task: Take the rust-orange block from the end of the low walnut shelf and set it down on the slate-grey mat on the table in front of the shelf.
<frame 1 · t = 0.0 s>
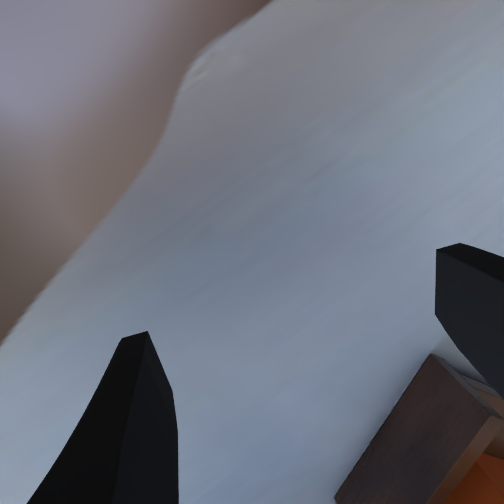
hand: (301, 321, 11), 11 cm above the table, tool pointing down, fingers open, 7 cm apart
rust block: (469, 484, 26), point 3 cm above the table, touching shelf
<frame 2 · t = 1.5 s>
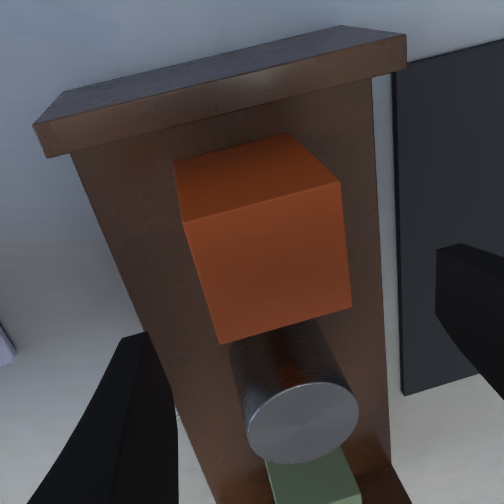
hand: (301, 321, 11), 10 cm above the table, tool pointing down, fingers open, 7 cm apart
rust block: (243, 200, 18), point 3 cm above the table, touching shelf
shelf: (264, 317, 24), on the table
mat: (484, 239, 24), on the table
steel tin: (276, 350, 22), point 3 cm above the table, touching shelf
sage block: (299, 451, 26), point 3 cm above the table, touching shelf
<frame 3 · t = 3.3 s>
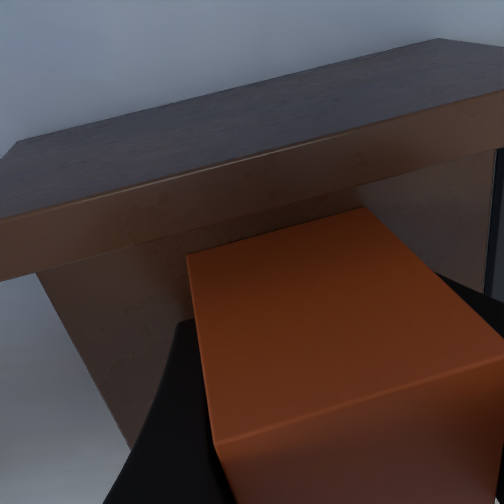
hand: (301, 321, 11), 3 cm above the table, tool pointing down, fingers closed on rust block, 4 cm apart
rust block: (290, 302, 12), point 3 cm above the table, touching gripper, shelf
shelf: (303, 421, 18), on the table
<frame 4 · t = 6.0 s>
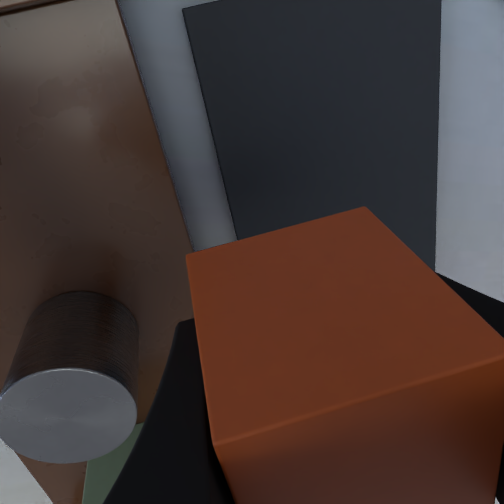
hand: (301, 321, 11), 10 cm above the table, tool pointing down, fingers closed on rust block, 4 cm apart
rust block: (290, 302, 12), point 10 cm above the table, touching gripper
shelf: (90, 300, 21), on the table
mat: (337, 215, 22), on the table
steel tin: (83, 335, 19), point 3 cm above the table, touching shelf
sage block: (142, 450, 23), point 3 cm above the table, touching shelf
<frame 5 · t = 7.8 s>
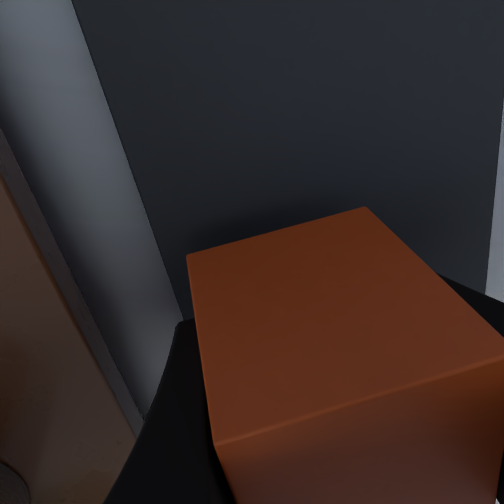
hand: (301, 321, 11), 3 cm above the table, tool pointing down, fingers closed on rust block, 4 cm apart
rust block: (290, 302, 12), point 2 cm above the table, touching gripper
mat: (340, 294, 15), on the table
when the fingers open (1 cm above the table, at t = 8.9 s): rust block stays where it is, resting on mat.
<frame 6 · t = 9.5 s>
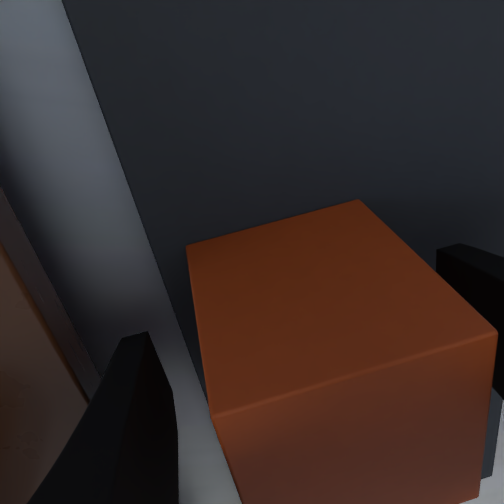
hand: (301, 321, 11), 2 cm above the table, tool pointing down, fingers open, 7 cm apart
rust block: (286, 292, 12), resting on mat
mat: (357, 320, 14), on the table
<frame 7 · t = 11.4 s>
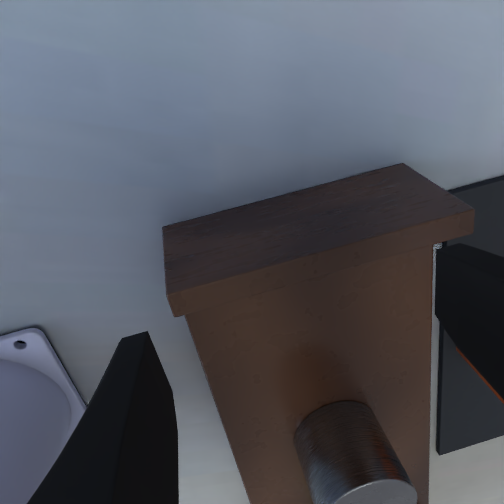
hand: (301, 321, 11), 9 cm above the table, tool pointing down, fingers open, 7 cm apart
shelf: (319, 395, 26), on the table
steel tin: (334, 431, 24), point 3 cm above the table, touching shelf
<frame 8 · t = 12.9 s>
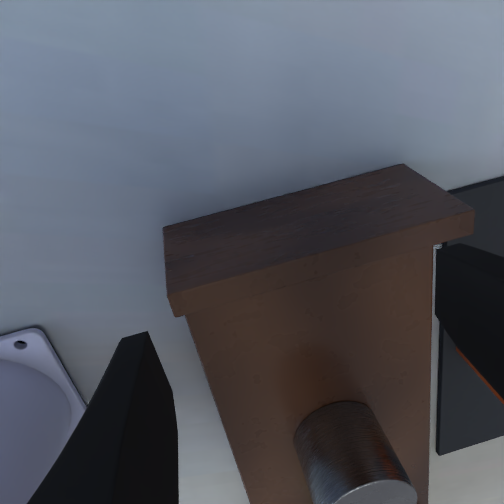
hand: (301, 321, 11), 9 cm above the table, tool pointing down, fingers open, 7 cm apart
shelf: (319, 395, 26), on the table
steel tin: (334, 431, 24), point 3 cm above the table, touching shelf
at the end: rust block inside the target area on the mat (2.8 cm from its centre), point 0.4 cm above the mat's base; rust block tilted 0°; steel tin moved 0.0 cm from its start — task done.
